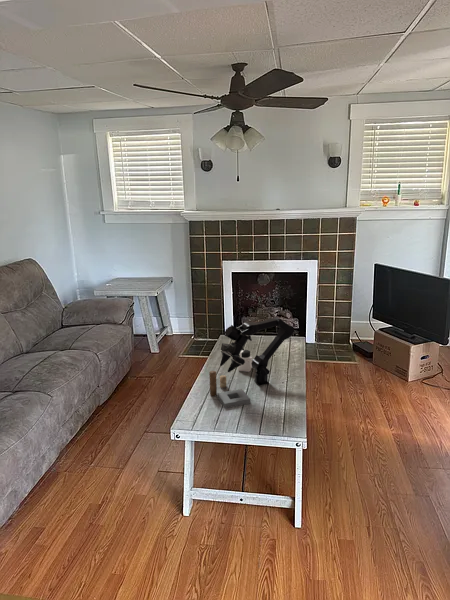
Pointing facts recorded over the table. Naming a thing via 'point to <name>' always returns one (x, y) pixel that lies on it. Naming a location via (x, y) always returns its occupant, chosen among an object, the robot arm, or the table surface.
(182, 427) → the table surface
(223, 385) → the short beech pin
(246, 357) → the medicine bottle
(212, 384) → the walnut pin
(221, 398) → the slate hole plate
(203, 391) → the table surface
